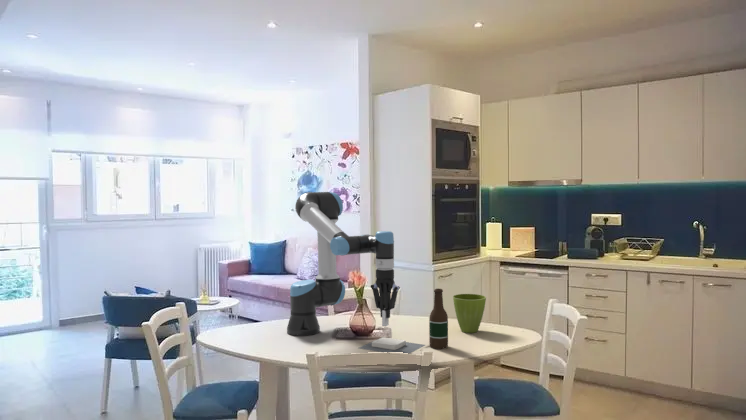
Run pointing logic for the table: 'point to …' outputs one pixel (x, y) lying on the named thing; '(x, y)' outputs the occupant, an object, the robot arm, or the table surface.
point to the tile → (388, 343)
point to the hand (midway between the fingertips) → (385, 325)
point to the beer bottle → (438, 323)
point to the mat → (405, 349)
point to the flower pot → (469, 311)
